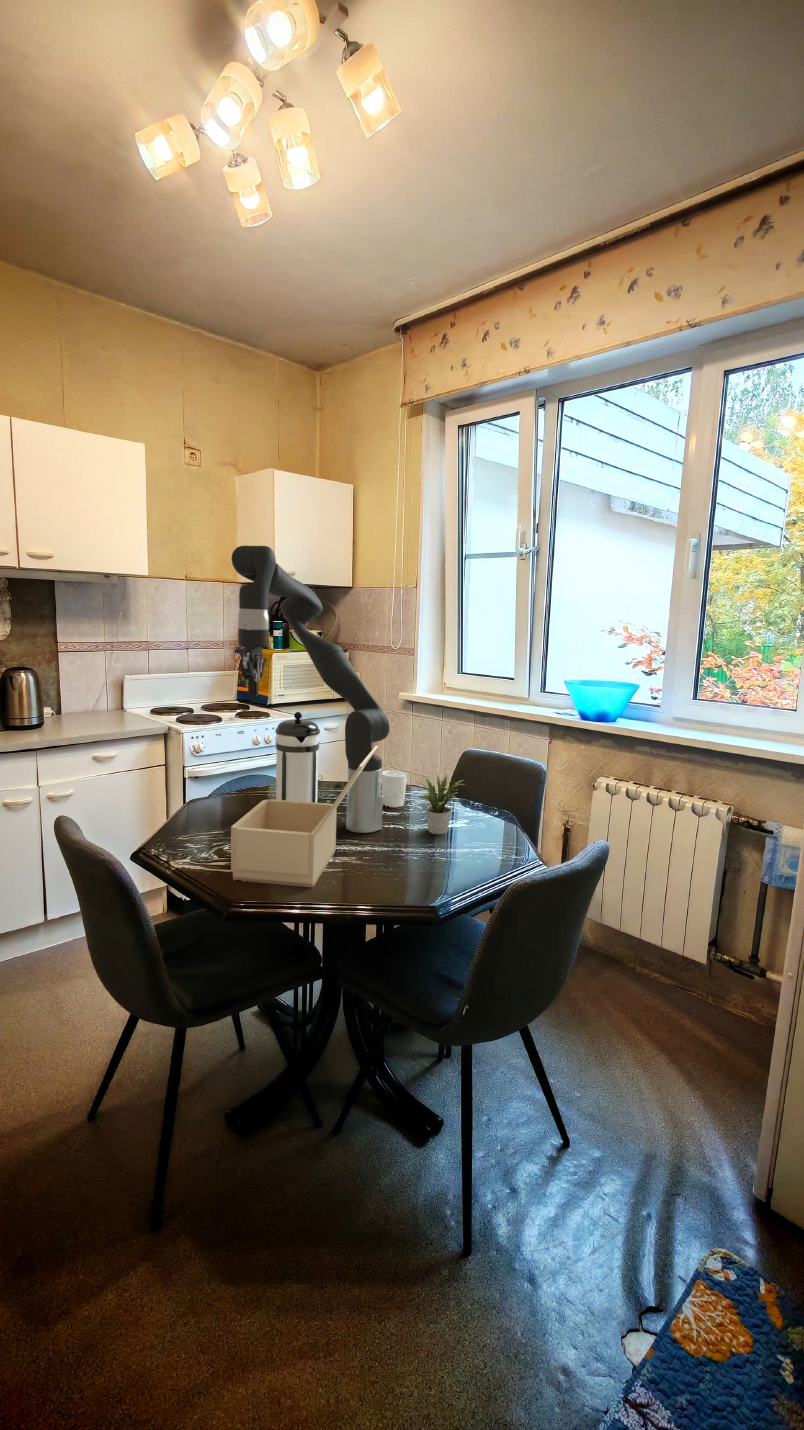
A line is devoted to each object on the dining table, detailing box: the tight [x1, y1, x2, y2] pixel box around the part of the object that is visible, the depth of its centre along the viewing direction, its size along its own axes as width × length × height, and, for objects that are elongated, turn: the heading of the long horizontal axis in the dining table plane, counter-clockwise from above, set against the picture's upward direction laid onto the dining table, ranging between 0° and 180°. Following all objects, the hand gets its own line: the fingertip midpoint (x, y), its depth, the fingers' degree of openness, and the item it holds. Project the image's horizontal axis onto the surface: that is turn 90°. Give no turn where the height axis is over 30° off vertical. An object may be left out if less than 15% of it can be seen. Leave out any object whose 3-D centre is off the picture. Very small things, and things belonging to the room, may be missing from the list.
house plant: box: [417, 773, 466, 835], centre depth 178 cm, size 14×14×16 cm
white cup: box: [381, 769, 408, 808], centre depth 203 cm, size 8×8×10 cm
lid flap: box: [314, 745, 379, 834], centre depth 148 cm, size 18×22×1 cm
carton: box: [230, 798, 338, 888], centre depth 151 cm, size 19×23×12 cm
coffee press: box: [274, 711, 321, 803], centre depth 191 cm, size 17×16×30 cm
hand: (253, 696), depth 165 cm, fingers closed
